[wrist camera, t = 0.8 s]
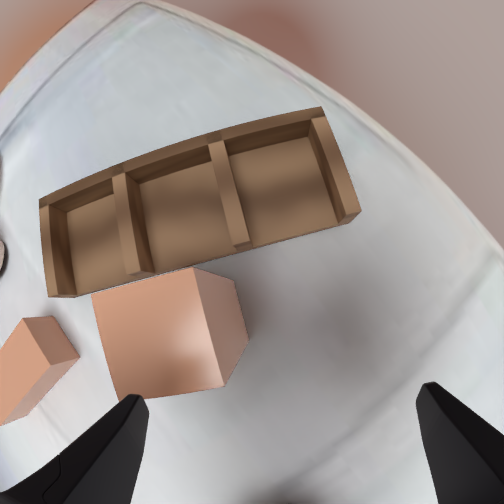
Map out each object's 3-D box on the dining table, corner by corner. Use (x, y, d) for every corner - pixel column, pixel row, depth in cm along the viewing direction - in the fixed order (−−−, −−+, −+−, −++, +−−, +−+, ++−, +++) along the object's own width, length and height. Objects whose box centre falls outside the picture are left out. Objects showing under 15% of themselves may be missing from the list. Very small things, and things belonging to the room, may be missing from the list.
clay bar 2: (249, 340, 25) (224, 386, 12) (190, 353, 25) (119, 401, 12) (233, 280, 25) (192, 266, 12) (175, 295, 26) (90, 294, 13)
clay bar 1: (27, 415, 25) (0, 426, 20) (5, 379, 26) (-23, 386, 21) (81, 356, 26) (50, 365, 21) (55, 316, 26) (22, 317, 21)
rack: (349, 223, 25) (361, 210, 21) (73, 297, 26) (48, 297, 22) (315, 130, 27) (321, 106, 23) (62, 209, 27) (38, 199, 23)
